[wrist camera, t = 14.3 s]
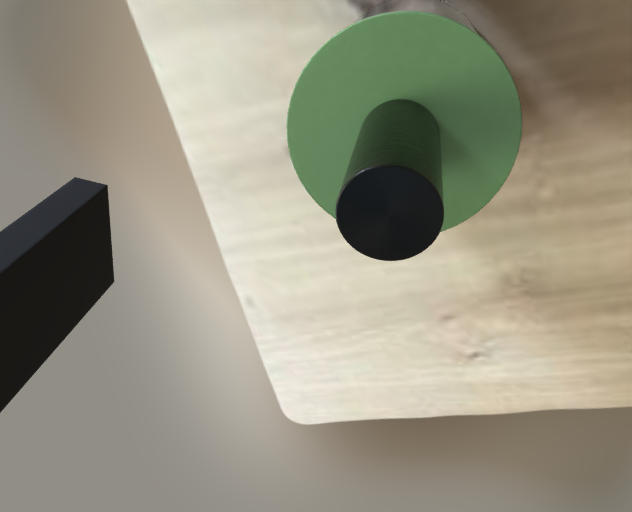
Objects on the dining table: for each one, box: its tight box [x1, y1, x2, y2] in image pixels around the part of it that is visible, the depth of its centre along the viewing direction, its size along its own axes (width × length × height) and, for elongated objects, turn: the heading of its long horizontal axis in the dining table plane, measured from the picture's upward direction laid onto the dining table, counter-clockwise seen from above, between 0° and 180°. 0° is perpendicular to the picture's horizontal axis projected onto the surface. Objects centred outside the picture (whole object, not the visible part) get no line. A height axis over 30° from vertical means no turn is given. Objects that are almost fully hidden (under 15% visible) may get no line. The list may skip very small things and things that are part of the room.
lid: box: [287, 11, 522, 261], centre depth 23 cm, size 12×12×10 cm
